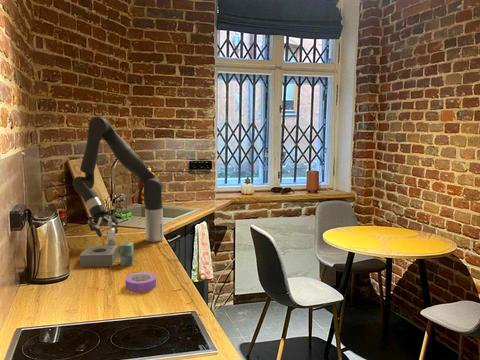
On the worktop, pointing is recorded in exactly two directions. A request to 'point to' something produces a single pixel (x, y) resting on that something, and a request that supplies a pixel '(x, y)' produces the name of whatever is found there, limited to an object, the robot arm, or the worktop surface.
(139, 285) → the masking tape
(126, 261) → the square peg
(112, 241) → the steel peg
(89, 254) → the socket block
